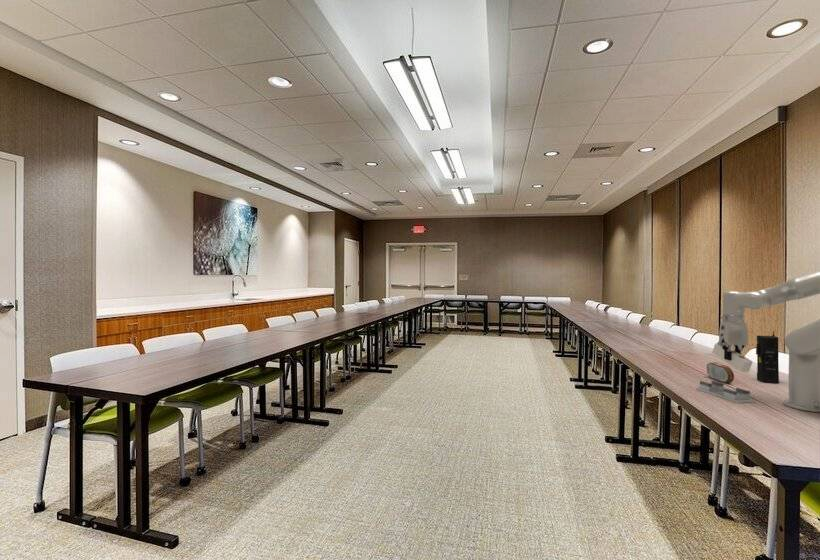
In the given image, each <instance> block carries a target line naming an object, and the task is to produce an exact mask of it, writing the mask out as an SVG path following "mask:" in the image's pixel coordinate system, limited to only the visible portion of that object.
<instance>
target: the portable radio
mask: <svg viewBox="0 0 820 560" xmlns="http://www.w3.org/2000/svg"><path fill="white" fill-rule="evenodd" d="M755 348H756V349H755V355H756V359H757V363H756V365H757V366H756V380H757V381H759V382H762V383H765V384H766V383H768V384H780V376H779V374H780V372H779V370H780V369H779V368H780V367H779V365H780V364H779V337H778V336H775V330H773V331H772V335H756V347H755Z"/></svg>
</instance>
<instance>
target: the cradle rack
mask: <svg viewBox="0 0 820 560" xmlns="http://www.w3.org/2000/svg"><path fill="white" fill-rule="evenodd" d="M724 386H725V385H724V383H723V382H720V381H718V380H711V382H706V381H703V380H699V386H696V388H695V389H696V391H700V392H703V393H705V394H708V395H712V396H714V395H715V397H717V396H719V397H718V398H720V397H721V399H723V398H724V399H723V400H726V399H727V400H726V401H729V400H730V402H732V401H733V403H735V402H736V404H744V403H743V402H750V403H755V399H752V398H751V397H750V396H751V391H750V390H747V389H743V388H741V387H736V388H735V390H732V389H729V388H725V387H724Z"/></svg>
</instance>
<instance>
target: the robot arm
mask: <svg viewBox="0 0 820 560" xmlns="http://www.w3.org/2000/svg"><path fill="white" fill-rule="evenodd" d="M817 295H820V270H817V271H814V272H811V273H807V274H804V275H801V276H797V277H793V278H791V279H788V280H787V281H785V282H783V283H780V284H777V285H774V286H770V287H766V288H763V289H760V290H757V291H754V290H753V291H747V292H745V291H739V290H738V291H736V290H728V291H727V290H726V291H724V292H723V294H722V315H721V316H720V319H721V320H722V321H721V322H720V326H719V332H718V342H716V343H717V345H719V346H721V347H722V348H723V350H724V359H726V360H732V352H731V349H732V346H733V348H734V349H733V350H734V351H736V352H737V353H739V354H741V355H742V353H741V352H743V350H744V348H745V347H747V346H748V345H749V333H748V331H749V330H748V325H747V323H746V322H745V309H750V310H759V309H764V308H767V307H771V306H775V305H778V304H782V303H786V302H789V301H795V300H801V299H806V298H810V297H812V296H817ZM784 343H785V346H786V348H787V349H788V350H789V351H788V399H787V398H786V399H784V400H783V402H782V403H783V404H784V406H787V407H790V408H792V409H796V410H801V411H805V412H811V413H812V412H815V413H820V319H817V320H816V321H815V320H814V321H813V322H811V323H809V324H806V325H804V326H802V327H800V328H797V329H795V330H792V331H791V332H790V333H788V334H787V335H786V337H785V339H784ZM727 346H728V347H727Z"/></svg>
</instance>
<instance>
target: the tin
mask: <svg viewBox="0 0 820 560" xmlns="http://www.w3.org/2000/svg"><path fill="white" fill-rule="evenodd" d="M706 373H707V375H708V376H709V378H710V379H712V380H714V381H717V382H720V381H721V382H720V383H723V382H724V383H725V384H730V383H733V382H734V380H735V374H734V371H733V369H732V368H731V367H729V365H725V364H722V363H719V362H709V363H707V364H706Z"/></svg>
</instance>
